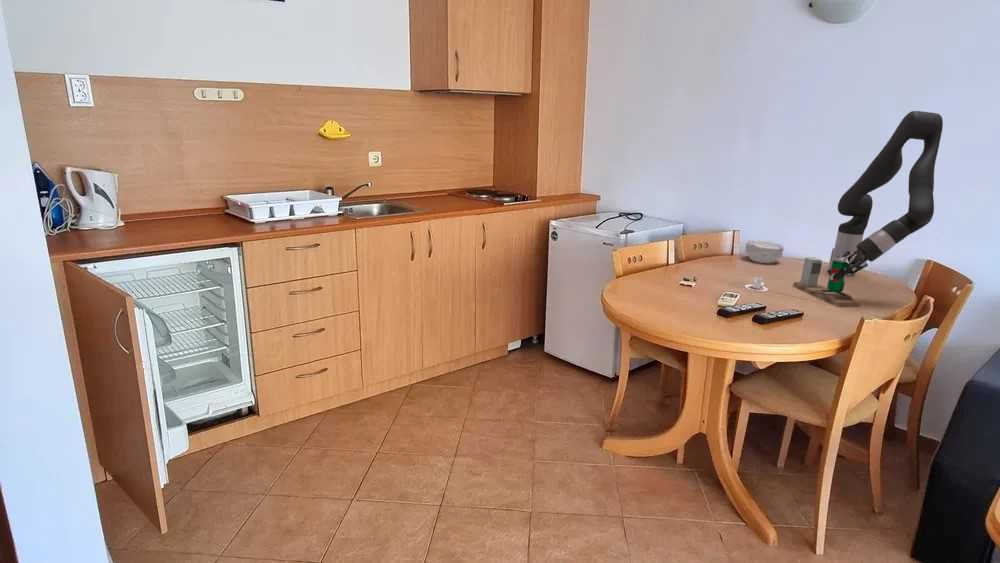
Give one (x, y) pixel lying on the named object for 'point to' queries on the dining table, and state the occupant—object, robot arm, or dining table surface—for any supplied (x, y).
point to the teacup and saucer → (757, 284)
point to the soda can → (836, 266)
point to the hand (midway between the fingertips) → (832, 276)
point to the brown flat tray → (828, 295)
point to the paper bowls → (763, 251)
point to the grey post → (811, 271)
